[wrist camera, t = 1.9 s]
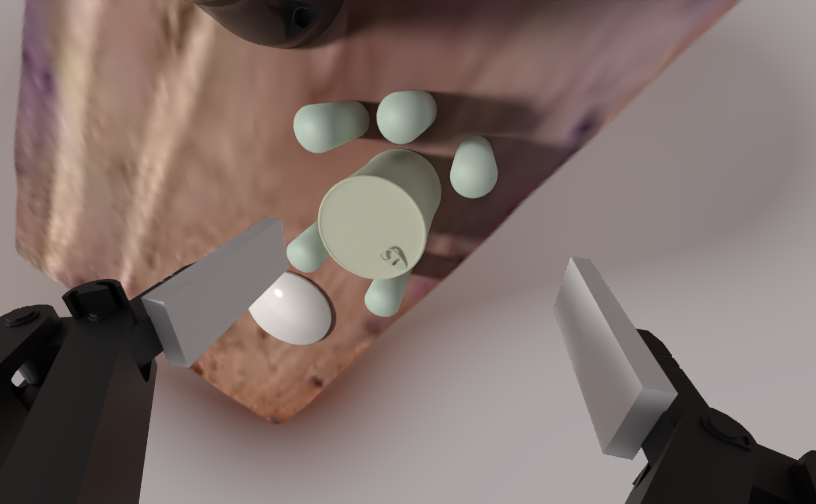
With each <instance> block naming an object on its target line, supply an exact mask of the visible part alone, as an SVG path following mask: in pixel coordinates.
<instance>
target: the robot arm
mask: <svg viewBox="0 0 816 504" xmlns="http://www.w3.org/2000/svg"><path fill="white" fill-rule="evenodd" d="M185 1H190V2H193V3H195V4H196V5H198V6H199V7H200V8H201V9H202V10H204V11H205V12H206V13H207V14H209V15H210V16H211V17H212V18H214V19H215V20H216V21H217V22H219V23H220V24H221V25H222V26H223V27H225V28H226V29H227V30H229V31H230V32H232V33H233V34H235V35H237V36H239V37H240V38H242V39H244V40H247V41H249V42H252V43H255V44H258V45H263V46H268V47H273V48H293V47H297V46H300V45H303V44H306V43H308V42H310V41H311V40H313V39H314V38H316V37H317V36H319V35H320V34H321V33H322V32H323V31H324V30H325V29H326V28H327V27H328V25H329V24H330V23H331V22H332V20H333V19H334V17H335V16H336V14H337V12H338V10H339V8H340V6H341V4H342V2H343V0H185ZM288 268H289V266H288V259H287V252H286V245H285V238H284V232H283V225H282V219H279V218H271V217H266V218H264V219H263V220H261V221H260V222H258V223H257V224H255V225H254V226H252V227H250V228H249V229H247V230H246V231H244V232H243V233H241V234H239V235H238V236H236V237H235V238H233V239H232V240H230V241H229V242H227V243H225V244H224V245H222V246H221V247H219V248H218V249H216V250H215V251H213V252H211V253H210V254H208V255H207V256H205V257H204V258H202V259H201V260H199V261H197V262H195V263H192V264H190V265H187V266H185V267H183V268H181V269H179V270H178V271H176V272H175V273H173V274H172V276H168V277H167V278H165V279H163V280H162V282H159V283H157V284H156V285H154V286H152V287H151V288H149V289H148V290H146V291H144V292H143V293H141V294H140V295H138V296H136V297H135V298H133V299H132V300H130V301H129V300H128V298H127V296H126V294H125V291H124V289H123V287H122V285H121V283H120V282H119V281H117V280H114V279H103V280H96V281H92V282H88V283H84V284H82V285H79V286H77V287H75V288H73V289H71V290H69V291H68V292H66V293H65V294H64V295H63V297H62V299H63V300H64V302H65V304H66V306H67V307H68V309H69V311H70V313H71V314H72V316H73V317H61V318H60V317H59V316H58V315H57V313H56V311H55V310H54V308H53V306H49V305H33V306H26V307H22V308H21V309H20V308H18V309H15V310H13V311H11V312H10V313H7V314H5V315H3V316H1V317H0V504H139V497H140V489H141V481H142V475H143V467H144V460H145V452H146V445H147V438H148V430H149V423H150V416H151V409H152V401H153V394H154V386H155V379H156V371H157V363H156V361H155V357H156V356H157V355H158V354H160V353H161V352H162V351H164V354H165V356H166V358H167V361H168V363H169V364H174V365H179V366H184V367H190V366H191V365H192V364H193V363H194V362H195V361H196V360H197V359H198V358H199V357H200V356H201V355H202V354H203V353H204V352H205V351H206V350H207V349H208V348H209V347H210V346H211V345H212V344H213V343H214V342H215V341H216V340H217V339H218V338H219V337H220V336H221V335H222V334H223V333H224V332H225V331H226V330H227V329H228V328H229V327H230V326H231V325H232V324H233V323H234V322H235V321H236V320H237V319H238V318H239V317H240V316H241V315H242V314H243V313H244V312H245V311H246V310H247V309H248V308H249V307H250V306H251V305H252V304H253V303H254V302H255V301H256V300H257V299H258V298H259V297H260V296H261V295H262V294H263V293H264V292H265V291H266V290H267V289H268V288H269V287H270V286H271V285H272V284H273V283H274V282H275V281H276V280H277V279H278V278H279V277H280V276H281V275H282V274H283V273H284V272H285V271H286V270H287V269H288ZM553 309H554V312H555V315H556V318H557V321H558V324H559V327H560V330H561V333H562V336H563V339H564V341H565V344H566V347H567V350H568V353H569V356H570V359H571V362H572V365H573V368H574V371H575V374H576V376H577V379H578V382H579V385H580V388H581V391H582V394H583V397H584V399H585V402H586V405H587V408H588V411H589V414H590V417H591V420H592V423H593V426H594V429H595V432H596V434H597V437H598V440H599V443H600V446H601V449H602V452H603V454H607V455H612V456H616V457H621V458H626V459H631V460H633V458H634V457H635V455H636V454H637V453H638V451H639V450H640V448H641V447H642V449H643V451H644V453H645V456H646V458H647V460H648V463H647V465H646V466H645V467H644V469H643V470H642V471H641V473H640V474H639V475H638V477H637V478H636V480H635V481H634V482H633V485H634V487H633V489H632V491H631V493H630V495H629V497H628V499H627V501H626V502H625V504H816V451H814V450H811V451H809V452H807V453H806V454H804V455H803V456H802V457H801V458H800V459H799V460H796V459H793V458H791V457H788V456H786V455H783V454H781V453H779V452H776V451H774V450H771V449H769V448H766V447H764V446H761V445H759V444H757V443H756V441H755V440H754V438H753V437H752V435H751V434H750V433H749V432H748V431H747V430H746V429H745V428H744V427H743V426H742V425H741V424H740V423H738V422H737V421H735V420H734V419H732V418H731V417H729V416H728V415H726V414H724V413H722V412H720V411H718V410H716V409H714V408H710V407H709V406H708V405H707V403H706V402H705V401H704V399H703V398H702V397H701V395H700V394H699V392H698V391H697V389H696V388H695V387H694V385H693V384H692V383H691V381H690V380H689V378H688V377H687V376H686V374H685V373H684V371H683V370H682V369H680V368H679V365H678V363H677V362H676V361H675V359H674V358H672V355H671V354H670V352H669V351H668V349H667V348H666V346H665V345H664V344H663V342H661V341H660V340H659V339H658V338H656V337H655V336H654V335H653V334H652V333H650V332H649V331H647V330H641V329H635V327H634V326H633V324H632V323H631V321H630V319H629V318H628V316H627V315H626V313H625V312H624V310H623V309H622V307H621V306H620V304H619V303H618V301H617V300H616V298H615V296H614V295H613V293H612V292H611V290H610V289H609V287H608V286H607V284H606V283H605V281H604V280H603V278H602V277H601V275H600V273H599V272H598V271H597V269H596V267H595V266H594V264H593V263H592V261H591V260H590V259H584V258H576V257H571V258H570V261H569V264H568V267H567V270H566V273H565V276H564V279H563V281H562V284H561V287H560V290H559V293H558V296H557V299H556V302H555V305H554V308H553ZM17 370H19V371H20V373H21V374H22V376H23V377H24V378H25V380H24V381H23V382H22V383H21V384H20V385H19V386H18V387H17V386H15V385H14V384H13V383H12V381H11V378H12V377H13V375H14V374H15V372H16V371H17Z"/></svg>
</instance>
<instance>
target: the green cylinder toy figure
mask: <svg viewBox="0 0 816 504" xmlns="http://www.w3.org/2000/svg"><path fill="white" fill-rule="evenodd" d="M440 200H441V184H440V180H439V177H438V174H437V172H436V171H435V169H434V167H433V166H432V165H431V164H430V163H429V162H428V161H427V160H426V159H425V158H424V157H423V156H421V155H419V154H418V153H415V152H413V151H410V150H406V149H390V150H386V151H384V152H381V153H379V154H378V155H376V156H375V157H374V158H372V159H371V160H370V161H369V163H368V164H367V165H365V166H364V167H363V168H361V169H360V170H358V171H357V172H355V173H354V174H352V175H351V176H350V177H348V178H346V179H344V180H342V181H340V182H339V183H337V184H336V185H334V186H333V187H332V188H331V189H330V190H329V191H328V193H327V194H326V195H325V197H324V199H323V201H322V203H321V206H320V209H319V214H318V227H319V233H320V236H321V239H322V242H323V244H324V246H325V248H326V249H327V251H328V252H329V254H330V255H331V256H332V258H333V259H334V260H335V261H336V262H337V263H338V264H340V265H341V266H342V267H343V268H345V269H346V270H348V271H350V272H351V273H353V274H356V275H358V276H361V277H364V278H369V279H376V280H383V279H390V278H394V277H397V276H400V275H402V274H404V273H406V272H407V271H409V270H410V269H411V268H413V267H414V266H415V265H416V264H417V262H418V261H419V260H420V258H421V256H422V254H423V252H424V250H425V247H426V243H427V236H428V233H429V229H430V226H431V223H432V220H433V217H434V214H435V212H436V211H437V209H438V207H439V204H440Z"/></svg>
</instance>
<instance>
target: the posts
mask: <svg viewBox="0 0 816 504" xmlns="http://www.w3.org/2000/svg"><path fill="white" fill-rule="evenodd" d="M436 116H437V105H436V102H435V100H434V98H433V97H432V96H431V95H430V94H429V93H427V92H425V91H420V90H418V91H402V92H394V93H391V94H389V95H388V96H386V97H385V98H384V99H383V100H382V102H381V103H380V105H379V108H378V111H377V124H378V127H379V129H380V131H381V133H382V134H383V136H384V137H385V138H386V139H388V140H389V141H391V142H393V143H396V144H406V143H409V142H411V141H413V140H414V139H416V138H417V137H418V136H419V135H420V134H421V133H423V132H424V131H425V130H426V129H427V128H428V127H430V126H431V125H432V124H433V122H434V121H435V119H436ZM369 125H370V117H369V114H368V111H367V109H366V108H365V107H364V106H363V105H362V104H361V103H359V102H357V101H354V100H350V101H341V102H332V103H322V104H313V105H307V106H304V107H302V108H301V109H300V110H299V111H298V112H297V114H296V116H295V119H294V132H295V135H296V137H297V139H298V141H299V142H300V144H301V145H302V146H303V147H304V148H305V149H307V150H309V151H311V152H314V153H324V152H326V151H328V150H331V149H333V148H335V147H338V146H340V145H342V144H345V143H347V142H349V141H352V140H354V139H356V138H359V137H361V136H363V135H364V134H365V133H366V132H367V130H368V128H369ZM497 177H498V170H497V166H496V162H495V158H494V154H493V150H492V147H491V144H490V143H489V141H488V140H487V139H485V138H484V137H482V136H478V135H473V136H469V137H467V138H465V139H464V140H462V142H461V143H460V144H459V146H458V148H457V151H456V154H455V158H454V161H453V164H452V168H451V172H450V180H451V184H452V186H453V188H454V189H455V190H456V191H457V192H458V193H459V194H460V195H462V196H464V197H468V198H478V197H481V196H484V195H486V194H487V193H489V192H490V191H491V190H492V188H493V187H494V186H495V184H496V181H497ZM287 256H288V259H289V261H290V263H291V264H292V265H293V266H294V267H295V268H297V269H298V270H300V271H303V272H314V271H316V270H317V269H318V268H319V267H320V266H321V265H322V264H323V263H324V262H325V260H326V259H327V258H328V257H329V256H330V254H329V252H328V251H327V249H326V248H325V246H324V244H323V242H322V239H321V236H320V233H319V227H318V220H317V221H316V222H315V223H314V224H312V225H311V226H310V227H309V228H308V229H307V230H305V231H304V232H303V233H302V234H301V235H299V236H298V237H297V238H296V239H295V240H293V241H292V242H291V243H290V244H289V245H288V248H287ZM412 270H413V268H411V269H410V270H409V271H407V272H406V273H404V274H402V275H400V276H397V277H394V278H390V279H383V280H376V279H374V280H373V282H372V284H371V286H370V288H369V289H368V291H367V293H366V295H365V303H366V306H367V308H368V309H369V310H370V311H371V312H372V313H374V314H376V315H378V316H382V317H388V316H392V315H394V314H395V313H397V311H398V310H399V307H400V304H401V301H402V299H403V296H404V293H405V290H406V287H407V284H408V281H409V278H410V275H411V272H412Z"/></svg>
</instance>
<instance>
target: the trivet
mask: <svg viewBox="0 0 816 504" xmlns="http://www.w3.org/2000/svg"><path fill="white" fill-rule="evenodd" d="M249 310H250V313H251V314H252V316H253V318H254V319H255V321H256V322H257V323H258V324H259V325H260V326H261V327H262V328H263V329H264V330H265V331H266V332H268V333H269V334H270V335H272V336H274V337H275V338H277V339H280V340H282V341H284V342H288V343H291V344H298V345H306V344H311V343H315V342H317V341H319V340H320V339H322V338H323V337H324V336H325V334H326V333H327V331H328V330H329V328H330V326H331V321H332V313H331V309H330V306H329V303H328V301H327V299H326V297H325V296H324V295H323V293H322V292H321V291H320V290H319V288H317V287H316V286H315V285H314V284H313V283H312V282H310V281H309V280H307V279H306V278H304V277H302V276H300V275H298V274H296V273H293V272H289V271H285V272H284V273H283V274H282V275H281V276H280V277H279V278H278V279H277V280H276V281H275V282H274V283H273V284H272V285H271V286H270V287H269V288H268V289H267V290H266V291H265V292H264V293H263V294H262V295H261V296H260V297H259V298H258V299H257V300H256V301H255V302H254V303H253V304H252V305H251V306H250V307H249Z"/></svg>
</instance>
